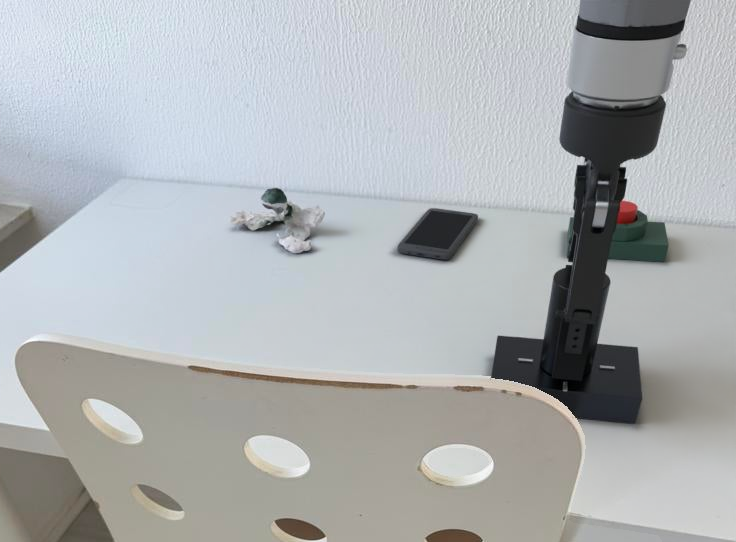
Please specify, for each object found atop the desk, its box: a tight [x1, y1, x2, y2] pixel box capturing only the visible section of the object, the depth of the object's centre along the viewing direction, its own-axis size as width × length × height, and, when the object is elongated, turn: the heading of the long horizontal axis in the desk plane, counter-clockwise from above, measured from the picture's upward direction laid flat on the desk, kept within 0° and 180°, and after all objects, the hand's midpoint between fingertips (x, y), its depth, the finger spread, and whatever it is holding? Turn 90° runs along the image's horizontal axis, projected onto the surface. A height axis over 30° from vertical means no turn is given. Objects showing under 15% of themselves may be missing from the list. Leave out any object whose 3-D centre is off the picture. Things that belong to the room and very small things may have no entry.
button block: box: [566, 209, 669, 263], centre depth 99 cm, size 12×7×4 cm, turn 78°
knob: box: [540, 266, 611, 376], centre depth 72 cm, size 5×5×9 cm
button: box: [617, 200, 639, 224], centre depth 97 cm, size 4×4×2 cm
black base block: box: [490, 335, 643, 425], centre depth 76 cm, size 14×9×3 cm, turn 78°
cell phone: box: [397, 207, 479, 261], centre depth 104 cm, size 7×14×1 cm, turn 157°
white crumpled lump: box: [228, 187, 326, 254], centre depth 105 cm, size 15×8×8 cm
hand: (568, 351), depth 74 cm, fingers open, 8 cm apart
